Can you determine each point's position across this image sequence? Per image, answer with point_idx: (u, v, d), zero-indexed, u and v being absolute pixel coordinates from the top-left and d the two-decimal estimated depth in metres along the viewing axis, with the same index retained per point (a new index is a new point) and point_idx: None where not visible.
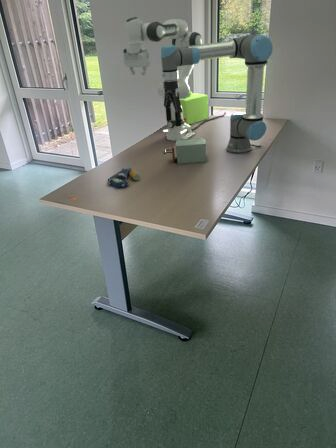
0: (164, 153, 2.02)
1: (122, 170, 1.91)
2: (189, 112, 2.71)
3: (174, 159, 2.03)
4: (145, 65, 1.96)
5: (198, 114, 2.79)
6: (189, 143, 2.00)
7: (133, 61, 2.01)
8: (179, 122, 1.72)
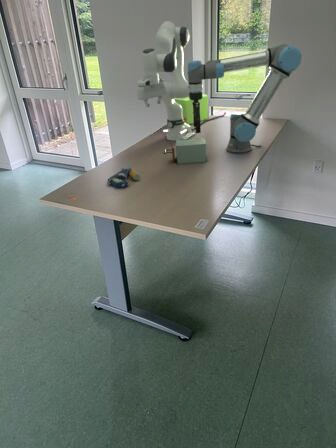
0: (164, 153, 2.02)
1: (122, 170, 1.91)
2: (189, 112, 2.71)
3: (174, 159, 2.03)
4: (165, 93, 2.02)
5: None
6: (189, 143, 2.00)
7: (152, 92, 1.95)
8: (199, 129, 1.90)
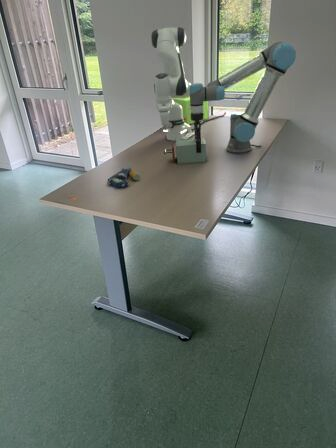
0: (164, 153, 2.03)
1: (122, 170, 1.91)
2: (189, 112, 2.71)
3: (174, 159, 2.03)
4: None
5: None
6: (189, 143, 2.00)
7: None
8: (199, 149, 1.98)
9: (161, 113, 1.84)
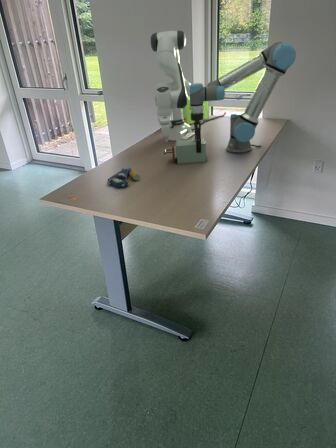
0: (164, 153, 2.03)
1: (122, 170, 1.91)
2: (189, 112, 2.71)
3: (174, 159, 2.03)
4: None
5: None
6: (189, 143, 2.00)
7: None
8: (199, 149, 1.98)
9: (162, 125, 1.88)
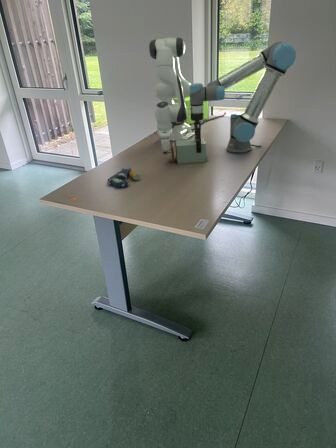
0: (163, 153, 2.03)
1: (122, 170, 1.91)
2: (189, 112, 2.71)
3: (173, 159, 2.03)
4: None
5: None
6: (189, 143, 2.00)
7: None
8: (199, 149, 1.98)
9: (162, 140, 1.92)
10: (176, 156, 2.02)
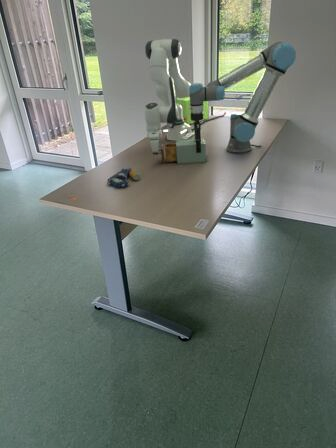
0: (153, 154, 2.03)
1: (122, 170, 1.91)
2: (189, 112, 2.71)
3: (163, 160, 2.03)
4: None
5: None
6: (189, 143, 2.00)
7: None
8: (199, 149, 1.98)
9: (151, 141, 1.92)
10: (166, 157, 2.03)
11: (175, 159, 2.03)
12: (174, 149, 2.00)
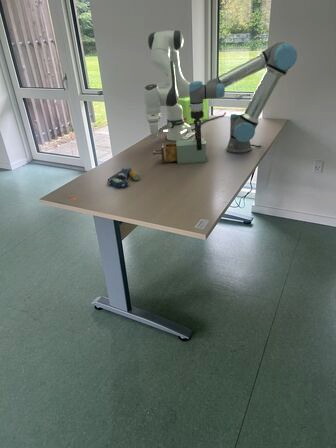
0: (153, 154, 2.03)
1: (122, 170, 1.91)
2: (189, 112, 2.71)
3: (163, 160, 2.03)
4: (158, 125, 2.05)
5: None
6: (189, 143, 2.00)
7: None
8: (200, 147, 1.96)
9: (150, 123, 1.87)
10: (166, 157, 2.03)
11: (175, 159, 2.03)
12: (174, 149, 2.00)
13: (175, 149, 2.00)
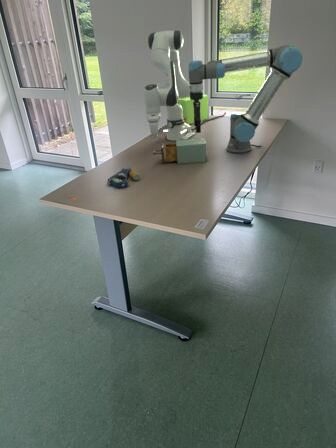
0: (153, 154, 2.03)
1: (122, 170, 1.91)
2: (189, 112, 2.71)
3: (163, 160, 2.03)
4: (158, 125, 2.05)
5: None
6: (189, 143, 2.00)
7: None
8: (199, 129, 1.91)
9: (150, 123, 1.87)
10: (166, 157, 2.03)
11: (175, 159, 2.03)
12: (174, 149, 2.00)
13: (175, 149, 2.00)
